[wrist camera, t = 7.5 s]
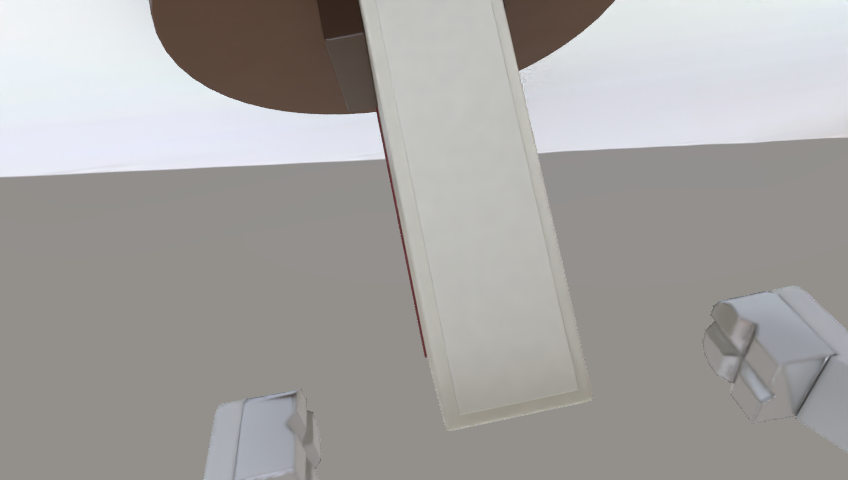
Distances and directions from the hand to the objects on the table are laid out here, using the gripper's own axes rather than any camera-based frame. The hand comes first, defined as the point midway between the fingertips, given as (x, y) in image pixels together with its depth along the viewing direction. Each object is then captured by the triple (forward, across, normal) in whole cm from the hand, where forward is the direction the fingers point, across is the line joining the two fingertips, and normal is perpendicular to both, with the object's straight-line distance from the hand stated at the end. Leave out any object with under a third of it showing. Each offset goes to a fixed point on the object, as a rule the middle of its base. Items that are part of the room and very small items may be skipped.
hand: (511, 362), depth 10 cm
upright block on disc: (+13, 0, -3) cm, 14 cm away
